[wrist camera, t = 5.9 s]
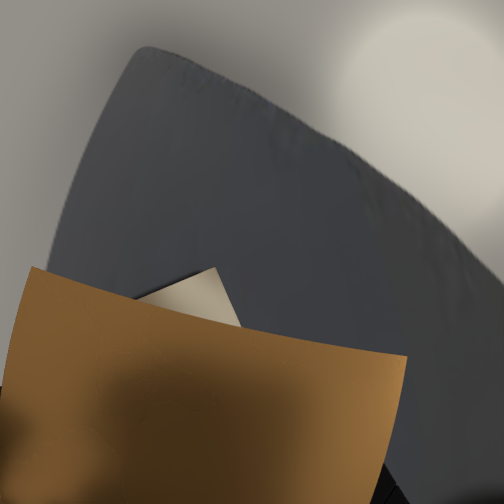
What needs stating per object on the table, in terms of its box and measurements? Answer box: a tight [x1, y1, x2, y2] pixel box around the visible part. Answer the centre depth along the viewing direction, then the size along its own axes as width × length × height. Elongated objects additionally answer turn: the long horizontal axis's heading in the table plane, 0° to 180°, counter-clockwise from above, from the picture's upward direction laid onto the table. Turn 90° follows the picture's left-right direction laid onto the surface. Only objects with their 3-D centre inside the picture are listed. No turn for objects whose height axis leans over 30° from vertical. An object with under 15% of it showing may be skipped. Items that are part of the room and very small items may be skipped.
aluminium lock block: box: [0, 267, 407, 504], centre depth 9 cm, size 5×5×13 cm
